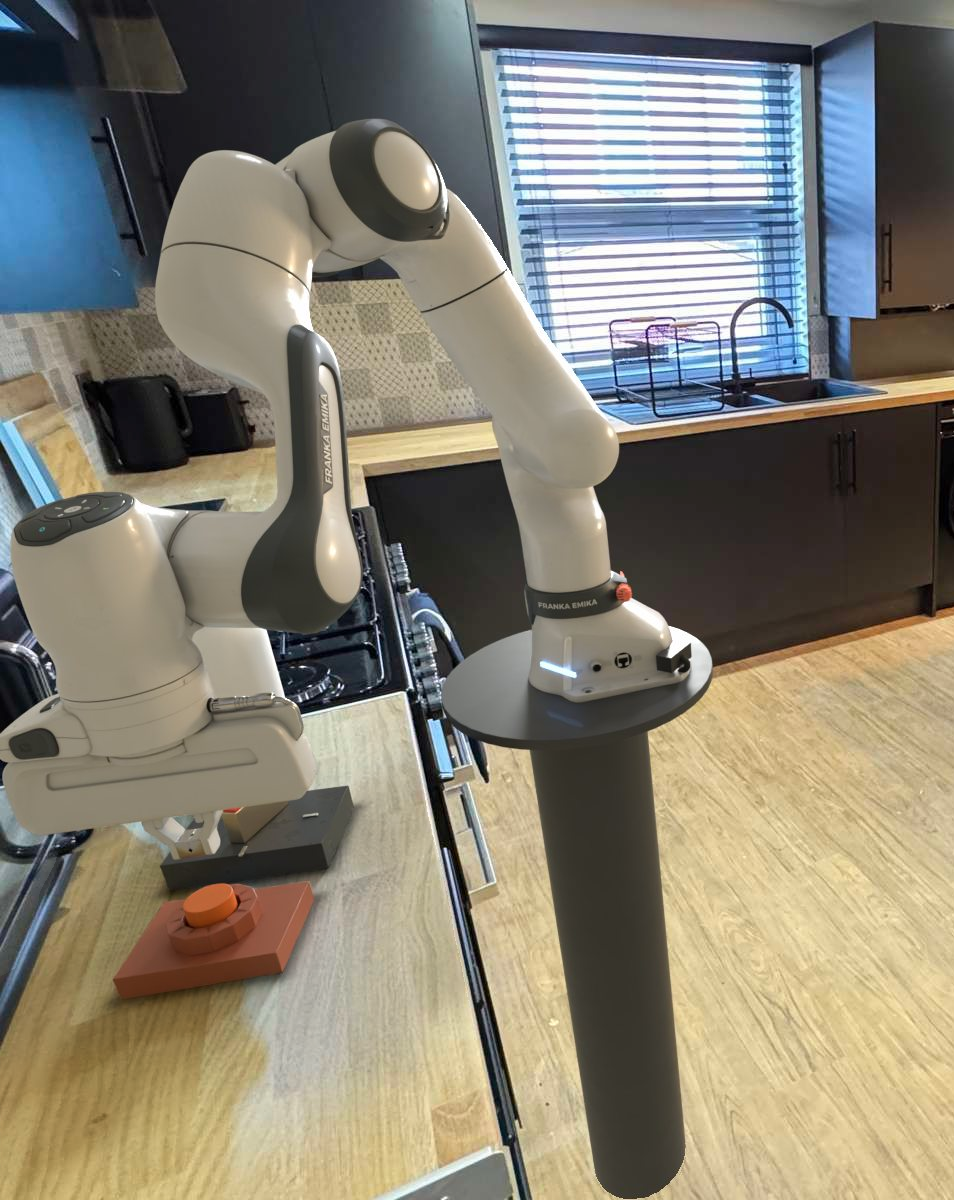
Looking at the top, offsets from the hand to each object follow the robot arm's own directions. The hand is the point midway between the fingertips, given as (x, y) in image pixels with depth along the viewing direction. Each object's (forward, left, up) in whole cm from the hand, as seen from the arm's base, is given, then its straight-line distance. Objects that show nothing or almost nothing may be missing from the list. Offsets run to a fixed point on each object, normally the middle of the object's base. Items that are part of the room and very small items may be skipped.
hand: (198, 852), depth 70 cm
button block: (+1, 0, -10) cm, 10 cm away
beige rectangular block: (+2, -14, -7) cm, 16 cm away
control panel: (+2, -14, -10) cm, 17 cm away
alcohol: (+8, -30, -10) cm, 33 cm away
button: (+1, 0, -6) cm, 6 cm away
